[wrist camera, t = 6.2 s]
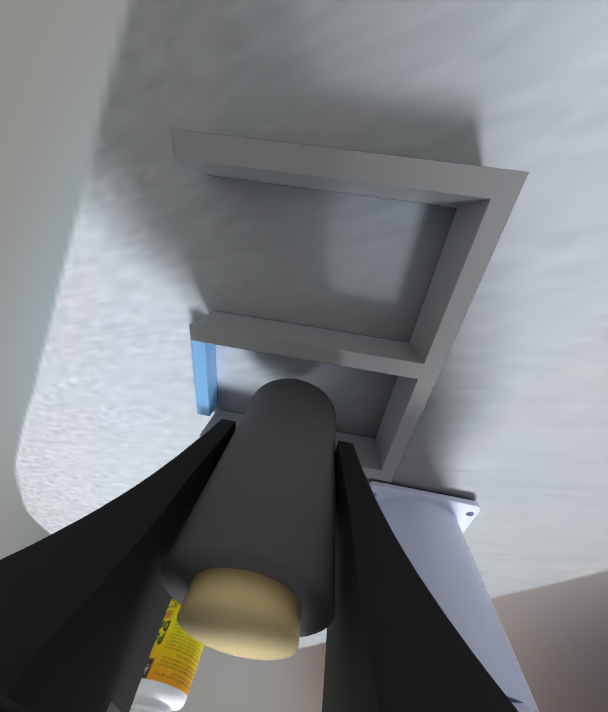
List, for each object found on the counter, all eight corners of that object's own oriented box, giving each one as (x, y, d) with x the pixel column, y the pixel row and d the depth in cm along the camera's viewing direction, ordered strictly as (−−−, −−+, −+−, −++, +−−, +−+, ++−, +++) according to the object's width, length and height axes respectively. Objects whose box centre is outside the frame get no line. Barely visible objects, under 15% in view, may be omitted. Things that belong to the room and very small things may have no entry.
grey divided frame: (383, 449, 16) (391, 482, 14) (207, 416, 17) (188, 442, 15) (485, 187, 10) (528, 171, 8) (189, 150, 10) (149, 125, 8)
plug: (327, 455, 13) (317, 686, 6) (248, 439, 13) (156, 646, 6) (343, 387, 11) (356, 615, 4) (251, 371, 11) (126, 562, 5)
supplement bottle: (185, 573, 29) (115, 729, 20) (227, 591, 29) (177, 749, 20) (172, 588, 31) (104, 733, 22) (211, 604, 32) (160, 751, 23)
